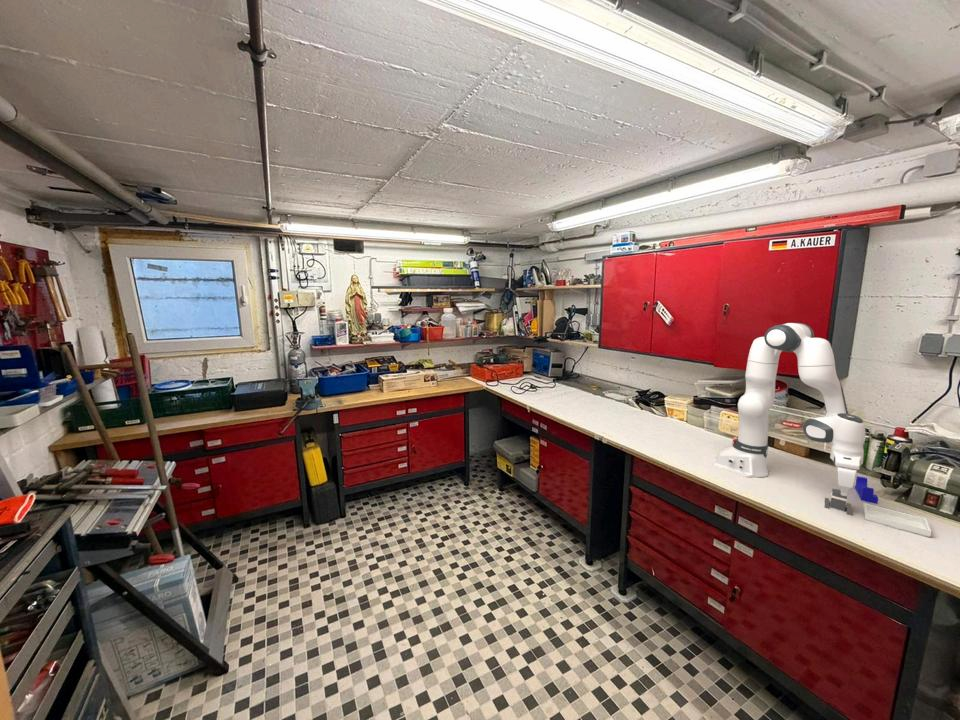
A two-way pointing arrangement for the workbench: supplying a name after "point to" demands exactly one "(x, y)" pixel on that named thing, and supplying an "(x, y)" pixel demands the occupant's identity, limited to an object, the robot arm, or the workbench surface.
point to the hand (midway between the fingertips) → (843, 490)
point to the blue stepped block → (865, 490)
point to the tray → (897, 520)
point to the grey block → (838, 500)
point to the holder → (848, 506)
